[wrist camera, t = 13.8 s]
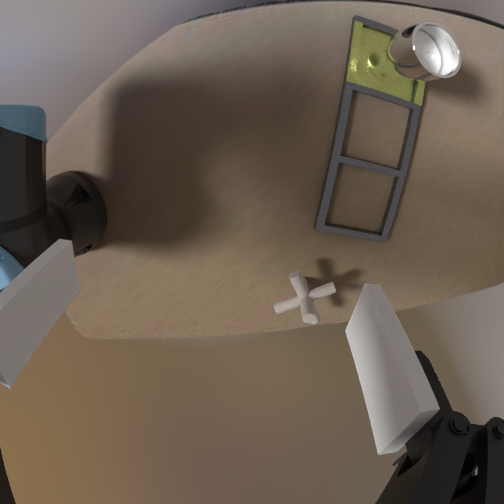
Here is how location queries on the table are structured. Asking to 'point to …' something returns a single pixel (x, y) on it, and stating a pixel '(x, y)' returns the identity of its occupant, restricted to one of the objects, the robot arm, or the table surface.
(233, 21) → the table surface
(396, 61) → the beer glass
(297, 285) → the pipe connector
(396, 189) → the grey flat frame
